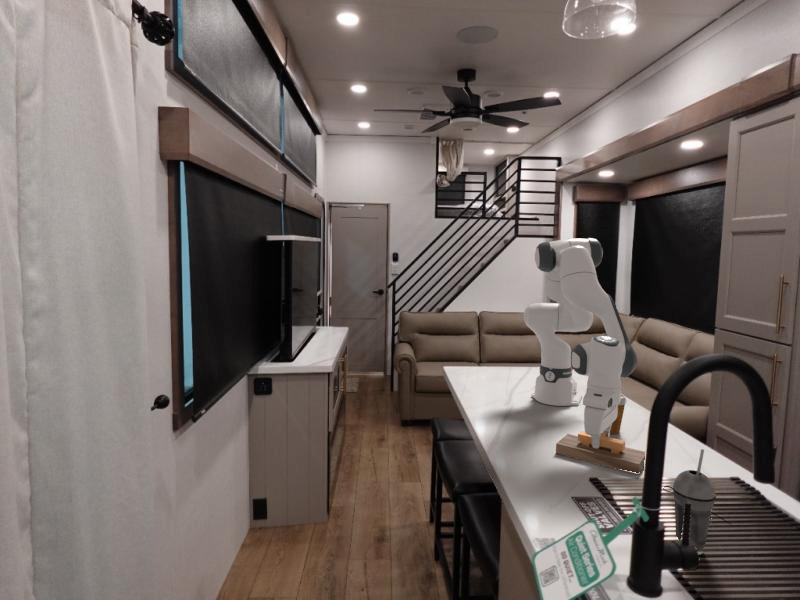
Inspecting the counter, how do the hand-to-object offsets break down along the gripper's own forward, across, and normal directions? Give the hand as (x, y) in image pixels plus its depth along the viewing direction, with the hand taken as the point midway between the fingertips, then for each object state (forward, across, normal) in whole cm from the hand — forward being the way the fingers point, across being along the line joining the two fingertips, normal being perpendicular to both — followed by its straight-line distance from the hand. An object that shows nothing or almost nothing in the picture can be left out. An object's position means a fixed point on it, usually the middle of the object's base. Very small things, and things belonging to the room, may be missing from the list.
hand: (601, 442), depth 136 cm
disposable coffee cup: (+5, -25, -4) cm, 26 cm away
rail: (+5, 0, 0) cm, 5 cm away
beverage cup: (+5, +34, +26) cm, 43 cm away
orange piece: (+5, 0, 0) cm, 5 cm away
